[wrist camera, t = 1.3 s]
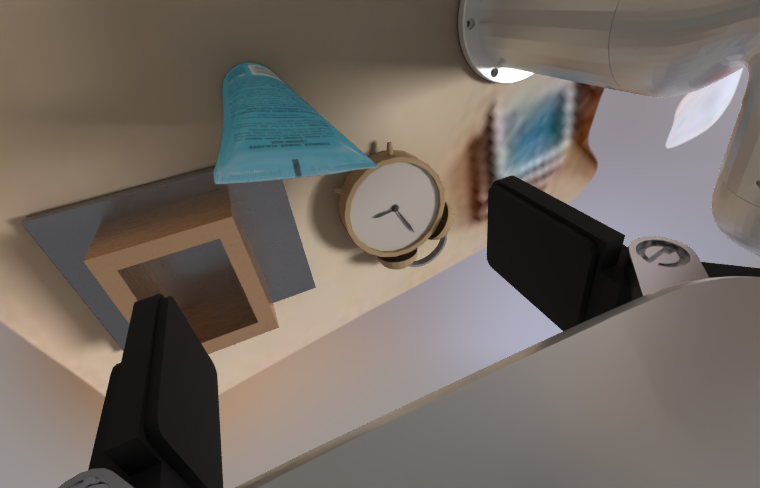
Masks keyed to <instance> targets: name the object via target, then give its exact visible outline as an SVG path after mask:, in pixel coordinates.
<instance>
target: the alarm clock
mask: <svg viewBox="0 0 760 488" xmlns="http://www.w3.org/2000/svg"><path fill="white" fill-rule="evenodd" d="M369 158H370V159H371V160H372V161H373V162H374V163H375V164H376V165H377V166H378V167H377V168H368V169H359V170H352V171H351V172H350V173H349V174H348V175H347V176H346V179H345V181H344V183H343V185H342V187H341V189H340V188H334V189H333V192H335V193H337V194H339V201H338V210H339V214H340V219H341V222H342V223H343V225H344V226H345V228H346V229H347V231H348V233H349V235H350V236H351V238H352V239H353V241H354V242H355V244H356V245H357V246H359V247H360V248H361V249H363V250H364V251H365V252H367V253H369V254H373V255H376V256H378V259H379V261H380V263H381V264H382V265H384V266H385V267H387V268H390V269H403V268H405V267H408V266H410V267H419V266H423V265H425V264H427V263H429V262H431V261H432V260H434V259H435V258H436V257H437V256H438V255H439V254H440V252H441V251H442V250H443V248H444V246H445V243H446V240H447V234H448V233H449V231H450V230H451V228H452V226H453V222H454V213H453V210H452V208H451V207H450V205H449V204H448V203H447V202H445V195H444V187H443V185H442V183H441V180H440V178H439V175H438V174H437V173H436V172H435V171H434V170H433V169H432V168H431V167H430V166H429V165H428V164H426V163H424V162H422V161H421V160H419V159H418V158H417V157H415V156H413V155H411V154H409V153H407V152H404V151H397V150H393V147H392V143H391V142H387V150H386V151H382V152H378V153H374V154H372V155H370V156H369ZM427 239H430V240H438V239H440V242H439V244H438V246H437V247H436V248H435V250H434V251H433V252H432V253H431V254H429V255H428V256H426V257H425V258H423V259H421V260H418V261H414V260H415V259H416V257H417V247H419V246H420V245H422V244H423V243H424V242H425V241H426V240H427Z"/></svg>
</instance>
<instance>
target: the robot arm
mask: <svg viewBox="0 0 760 488" xmlns="http://www.w3.org/2000/svg"><path fill="white" fill-rule="evenodd" d="M458 31H459V39H460V44H461V47H462V51H463V54H464V56H465V58H466V60H467V62H468V64H469V65H470V66H471V68H472V69H473V70H474V71H475V72H476V73H477V74H478V75H480V76H481V77H482V78H484V79H486V80H489V81H492V82H496V83H500V84H511V83H515V82H519V81H522V80H524V79H526V78H528V77H530V76H531V75H532V74H534V73H536V74H541V75H546V76H551V77H556V78H561V79H565V80H570V81H575V82H580V83H585V84H590V85H594V86H599V87H604V88H609V89H614V90H619V91H625V92H630V93H635V94H639V95H645V96H651V97H672V96H678V95H683V94H687V93H690V92H693V91H696V90H699V89H701V88H704V87H706V86H708V85H710V84H712V83H715V82H717V81H719V80H721V79H723V78H724V77H726V76H728V75H730V74H732V73H734V72H736V71H737V70H739V69H741V68H743V67H745V66H746V67H747V68H748V72H749V77H748V83H747V87H746V90H745V93H744V97H743V99H742V107H741V110H740V112H739V115H738V118H737V121H736V124H735V127H734V129H733V132H732V135H731V138H730V141H729V144H728V147H727V150H726V153H725V156H724V158H723V161H722V164H721V167H720V171H719V174H718V177H717V180H716V184H715V188H714V192H713V196H712V213H713V217H714V221H715V223H716V225H717V226H718V228H719V229H720V230H721V232H722V233H723V234H724V235H725V236H726V237H727V238H728V239H730V240H731V241H732V242H734V243H735V244H737V245H738V246H740V247H742V248H744V249H746V250H748V251H750V252H752V253H754V254H757V255H759V256H760V0H461V1H460V7H459V14H458ZM624 237H625V235H623V234H621V233H620V232H618V231H616V230H614V229H612V228H610V227H608V226H606V225H605V224H603V223H601V222H599V221H597V220H595V219H593V218H591V217H590V216H588V215H586V214H584V213H582V212H580V211H578V210H577V209H575V208H573V207H571V206H569V205H567V204H566V203H564V202H562V201H560V200H558V199H556V198H554V197H552V196H551V195H549V194H547V193H545V192H543V191H541V190H539V189H538V188H536V187H534V186H532V185H530V184H528V183H526V182H525V181H523V180H521V179H519V178H517V177H515V176H509V177H506V178H503V179H500V180H497V181H495V182H494V183H493V185H492V187H491V188H490V189H489V195H488V232H487V260H488V263H489V265H490V266H491V267H492V268H493V269H494V270H495V271H496V272H497V273H499V274H500V275H501V276H502V277H503V278H504V279H505V280H506V281H507V282H509V283H510V284H511V285H512V286H513V287H514V288H515V289H516V290H518V291H519V292H520V293H521V294H522V295H523V296H524V297H526V298H527V299H528V300H529V301H530V302H531V303H532V304H533V305H534V306H536V307H537V308H538V309H539V310H540V311H541V312H543V314H545V315H546V316H547V317H548V318H549V319H550V320H551V321H552V322H554V323H555V324H556V325H557V326H558V327H559V328H560V329H561V330H563V332H561V333H559V334H557V335H555V336H553V337H550V338H548V339H546V340H544V341H542V342H540V343H538V344H535V345H533V346H531V347H529V348H527V349H525V350H522V351H520V352H518V353H516V354H514V355H512V356H509V357H507V358H505V359H503V360H501V361H499V362H497V363H494V364H492V365H490V366H488V367H486V368H484V369H482V370H480V371H477V372H475V373H473V374H471V375H469V376H467V377H464V378H462V379H460V380H458V381H456V382H454V383H452V384H450V385H448V386H445V387H443V388H441V389H439V390H437V391H435V392H432V393H430V394H428V395H426V396H424V397H422V398H420V399H418V400H415V401H413V402H411V403H409V404H407V405H405V406H403V407H401V408H399V409H397V410H394V411H393V412H390V413H388V414H386V415H384V416H382V417H380V418H377V419H375V420H373V421H371V422H370V423H367V424H365V425H363V426H361V427H359V428H356V429H354V430H352V431H350V432H348V433H346V434H344V435H342V436H340V437H337V438H335V439H333V440H331V441H329V442H327V443H325V444H323V445H321V446H318V447H317V448H314V449H312V450H310V451H308V452H306V453H304V454H302V455H300V456H298V457H296V458H294V459H292V460H290V461H288V462H286V463H284V464H282V465H280V466H278V467H276V468H274V469H272V470H270V471H268V472H266V473H264V474H262V475H259V476H258V477H256V478H254V479H251V480H249V481H247V482H245V483H243V484H241V485H239V486H238V487H236V488H760V268H751V267H742V266H733V265H724V264H715V263H706V262H701V261H700V259H699V257H698V256H697V254H696V253H695V252H694V251H693V250H692V249H691V248H690V247H688V246H687V245H685V244H683V243H681V242H678V241H676V240H672V239H668V238H663V237H642V238H638V239H636V240H634V241H632V242H631V244H630V245H629V247H626V246H625V245H623V241H624ZM59 488H223V475H222V456H221V439H220V420H219V401H218V382H217V372H216V369H215V366H214V364H213V362H212V360H211V359H210V357H209V355H208V354H207V352H206V350H205V349H204V347H203V345H202V344H201V342H200V341H199V339H198V337H197V336H196V334H195V332H194V331H193V329H192V327H191V326H190V324H189V322H188V321H187V319H186V318H185V316H184V314H183V313H182V311H181V309H180V308H179V306H178V304H177V303H176V301H175V300H174V298H173V297H172V296H168V297H164V296H163V295H162V294H156V295H153V296H150V297H147V298H144V299H141V300H138V301H136V302H135V303H134V305H133V310H132V315H131V319H130V324H129V329H128V333H127V338H126V343H125V347H124V352H123V357H122V361H121V363H119V364H116V365H115V366H114V367H113V369H112V372H111V375H110V380H109V384H108V388H107V392H106V397H105V401H104V405H103V410H102V414H101V418H100V422H99V427H98V431H97V435H96V439H95V444H94V448H93V452H92V456H91V461H90V465H89V469H88V471H85V472H82V473H80V474H78V475H76V476H75V477H73V478H71V479H69V480H68V481H66V482H65V483H63V484H62V485H61V486H60V487H59Z"/></svg>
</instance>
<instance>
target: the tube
mask: <svg viewBox="0 0 760 488" xmlns="http://www.w3.org/2000/svg"><path fill="white" fill-rule="evenodd" d="M222 94H223V132H222V140H221V145H220V150H219V155H218V159H217V162H216V165H215V169H214V182H215V184H228V183H246V182H257V181H267V180H279V179H290V178H299V177H310V176H320V175H328V174H335V173H341V172H347V171H352V170H359V169H368V168H377V167H378V166H377V165H376V164H375V163H374V162H373V161H372V160H371V159H370V158H369V157H368V156H366V155H365V154H364V153H363V152H362V151H361V150H359V149H358V148H357V147H356V146H355V145H354V144H352V143H351V142H350V141H349V140H348V139H347V138H346V137H345V136H343V135H342V134H341V133H340V132H339V131H338V130H337V129H335V128H334V127H333V126H332V125H331V124H330V123H329V122H327V121H326V120H325V119H324V118H323V117H322V116H321V115H320V114H318V113H317V112H316V111H315V110H314V109H313V108H312V107H311V106H309V105H308V104H307V103H306V102H305V101H304V100H303V99H302V98H300V97H299V96H298V95H297V94H296V93H295V92H294V91H293V90H292V89H291V88H289V87H288V86H287V85H286V84H285V83H284V82H283V81H282V80H281V79H280V78H279V77H278V76H277V75H276V74H274V73H273V72H272V71H271V70H270V69H268V68H267V67H265V66H263V65H260V64H258V63H250V62H248V63H242V64H239V65H237V66H235V67H234V68H232V69H231V70H230V71H229V72H228V74H227V75H226V77H225V79H224V81H223V87H222Z"/></svg>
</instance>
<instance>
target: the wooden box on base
mask: <svg viewBox="0 0 760 488" xmlns="http://www.w3.org/2000/svg"><path fill="white" fill-rule="evenodd" d="M214 169H215V166H214V167H210V168H206V169H203V170H199V171H195V172H191V173H188V174H184V175H180V176H176V177H173V178H169V179H165V180H162V181H158V182H154V183H150V184H147V185H143V186H139V187H135V188H132V189H128V190H124V191H120V192H117V193H113V194H109V195H105V196H102V197H98V198H94V199H90V200H87V201H83V202H79V203H75V204H72V205H68V206H64V207H60V208H57V209H53V210H49V211H45V212H42V213H38V214H34V215H31V216H27V217H26V218H25V220H24V221H23V222H22V224H23V225H24V227H25V228H26V229H27V231H28V232H29V233H30V234H31V236H32V237H33V238H34V239H35V241H36V242H37V243H38V244H39V246H40V247H41V248H42V249H43V251H44V252H45V253H46V254H47V256H48V257H49V258H50V259H51V261H52V262H53V263H54V264H55V266H56V267H57V268H58V269H59V271H60V272H61V273H62V274H63V276H64V277H65V278H66V279H67V281H68V282H69V283H70V284H71V286H72V287H73V288H74V289H75V291H76V292H77V293H78V295H79V296H80V297H81V298H82V300H83V301H84V302H85V303H86V305H87V306H88V307H89V308H90V310H91V311H92V312H93V313H94V315H95V316H96V317H97V318H98V320H99V321H100V322H101V323H102V325H103V326H104V327H105V328H106V330H107V331H108V332H109V333H110V335H111V336H112V337H113V338H114V340H115V341H116V342H117V343H118V345H119V346H120V347H121V348H122V350H123V351H124V347H125V343H126V338H127V333H128V329H129V324H130V319H131V315H132V310H133V305H134V303H135V302H136V301H138V300H141V299H144V298H147V297H150V296H153V295H156V294H162V295H163V296H164V297H168V296H172V297H173V298H174V300H175V301H176V303H177V304H178V306H179V308H180V309H181V311H182V313H183V314H184V316H185V318H186V319H187V321H188V322H189V324H190V326H191V327H192V329H193V331H194V332H195V334H196V336H197V337H198V339H199V341H200V342H201V344H202V345H203V347H204V349H205V350H206V352H207V354H210V353H212V352H215V351H218V350H220V349H223V348H226V347H228V346H231V345H234V344H236V343H239V342H241V341H244V340H247V339H249V338H252V337H255V336H257V335H260V334H263V333H265V332H268V331H271V330H273V329H276V328H279V326H278V322H277V318H276V314H275V310H274V306H273V303H274V302H277V301H280V300H282V299H285V298H288V297H291V296H294V295H296V294H299V293H302V292H305V291H307V290H310V289H313V288H316V287H315V284H314V281H313V277H312V274H311V271H310V268H309V265H308V261H307V258H306V255H305V252H304V249H303V246H302V242H301V239H300V236H299V233H298V230H297V226H296V223H295V220H294V217H293V214H292V210H291V207H290V204H289V201H288V198H287V194H286V191H285V188H284V185H283V182H282V179H279V180H267V181H257V182H246V183H228V184H215V182H214Z"/></svg>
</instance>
